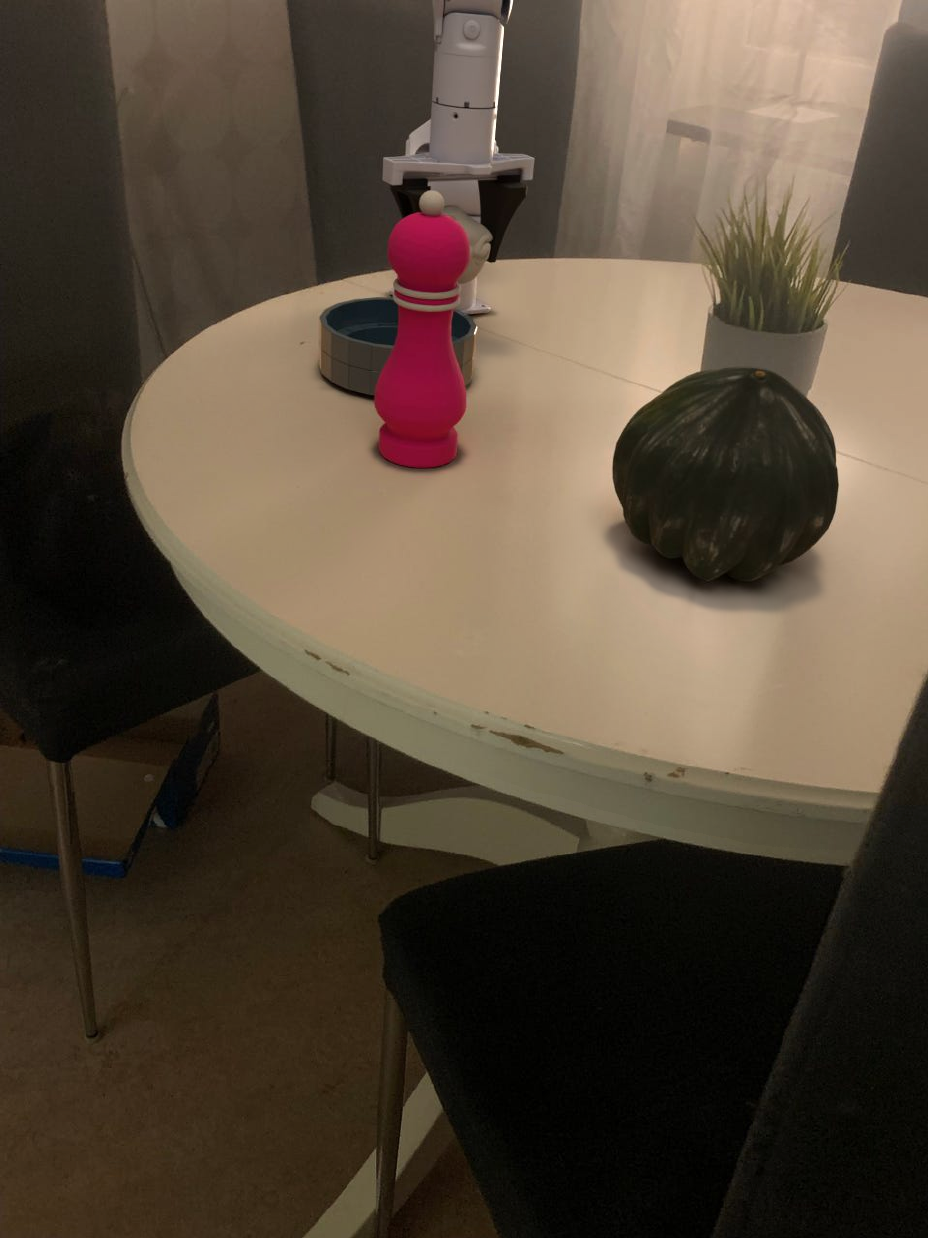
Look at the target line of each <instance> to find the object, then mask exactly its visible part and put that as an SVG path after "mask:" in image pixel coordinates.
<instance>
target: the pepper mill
mask: <svg viewBox="0 0 928 1238" xmlns="http://www.w3.org/2000/svg"><path fill="white" fill-rule="evenodd" d="M419 206H420V209H421V211H422V212H419V213H414V214H411V215H409V216H407V217H405V218H401V219H400V220H399V221H398V222H397V223H396V224H395V226H394V227H393V229H392V230H391V232H390V235H389V238H388V243H387V260H388V262H389V264H390V266H391V269H392V270H393V271H394V272H395V273H396V276H397V275H398V278H397V277H396V278H395V279H394V281H393V283H392V286H393V288H394V289H395V290H394V294H393V295H392V297H393V300H394V301H395V302H396V303H397V304H398V313H399V322H398V334H397V337H396V341H395V345H394V347H393V350H392V352H391V354H390V356H389V358H388V360H387V362H386V364H385V365H384V367H383V369H382V371H381V373H380V376H379V379H378V382H377V385H376V390H375V395H374V397H373V403H374V408H375V410H376V413H377V414H378V416H379V417H380V419H381V420H382V421H383V422H384V423H383V424H382V425H381V426H380V428H379V432H378V435H379V436H378V450H379V452H380V454H381V456H382V457H383V458H384V459H386V460H387V461H389V462H391V463H393V464H396V465H399V466H403V467H409V468H414V469H415V468H416V469H423V468H424V469H427V468H436V467H440V466H444V465H446V464H449V463H450V462H452V461H453V460H454V459H455V458H456V456H457V454H458V453H457V452H458V440H459V439H458V438H459V435H458V430H456V429H455V428H454V427H456V425H457V424H458V423H459V422H460V421H461V420H462V419H463V417H464V415H465V414H466V411H467V388H466V385H465V384H464V379H463V376H462V373H461V370H460V368H459V365H458V362H457V359H456V356H455V353H454V350H453V345H452V339H451V321H452V315H453V310H454V308H456V307H457V306H458V305H459V304H460V298H459V293H460V291H461V286H460V285H459V284H458V283H457V280H458V278H459V277H460V276H461V275H462V274H463V273H464V272H465V270H466V269H467V267H468V265H469V261H470V243H469V238H468V236H467V233H466V231H465V230H464V228H463V227H462V226H461V225H460V224H459V223H458V222H457V221H456V220H455V219H453V218H451V217H449V216H447V215H444V214H440V213H441V212H442V211H443V209H444V199H443V197H442V195H441V194H440V193H439V192H437V191H433V190H430V191H427V192H425V193H424V194H423V195H422V196H421V198H420V201H419Z"/></svg>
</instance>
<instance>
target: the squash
mask: <svg viewBox="0 0 928 1238" xmlns="http://www.w3.org/2000/svg"><path fill="white" fill-rule="evenodd" d="M611 467H612V468H611V469H612V471H611V473H612V482H613V487H614V493H615V494H616V496H617V499H618V501H619V504H620V505H621V508H622V516H623V519H624V521H625V524H626V526H627V528H628V529H629V531H630V533H631V535H632V536H633V537H634V538H635V539H636V540H637V541H639V542H641V543H643V544H646V545H651V546H653V547H654V548H655V550H656V551H657V552H658V553H659V554H660V555H661V556H662V557H665V558H668V559H678V558H682V560H683V562H684V565H685V567H686V568H687V570H689V572H690V573H691V574H692V575H693V576H694V577H696V578H698V579H699V580H702V581H709V582H710V581H712V580H716V579H718V578H719V577H721V576H723V575H724V574H726V575H727V576H729V577H730V578H732V579H734V580H736V581H740V582H754V581H756V580H758V579H760V578H763V577H764V576H766V575H767V574H770V573H771V572H772V571H773V570H775V569H776V568H777V567H780V566H782V565H786V564H788V563H791V562H793V561H794V560H796V559H798V558H799V557H801V556H803V555H804V554H806V553H807V552H809V550H811V549H812V548H813V547H814V546H815V545H816V544H817V543H818V542H819V541H820V540H821V539H822V537H824V535H825V534H826V533H827V531H828V530H829V528H830V526H831V525H832V522H833V520H834V517H835V514H836V510H837V503H838V495H839V488H840V487H839V486H840V484H839V472H838V471H839V470H838V466H837V448H836V443H835V438H834V434H833V432H832V430H831V428H830V425H829V424H828V422H827V421H826V419H825V417H824V415H823V414H822V413H821V411H820V409H818V407H817V406H816V405H815V404H814V403H813V402H812V401H811V400H810V399H809V398H808V397H807V396H806V394H804V393H803V392H802V391H801V390H799V389H798V388H796V386H794V385H793V384H792V383H791V382H790V381H788V379H786V378H784V377H783V376H782V375H780V374H779V373H777V372H775V371H774V370H771V369H768V368H763V367H757V366H751V365H746V366H745V365H744V366H743V365H741V366H740V365H738V366H731V367H723V368H716V369H706V370H705V369H704V370H701V371H696V372H694V373H692V374H691V373H690V374H689V375H686V376H684V377H683V378H681V379H679V380H677V381H676V382H674V383H672V384H670V385H669V386H668V387H667V388H666V389H665V390H663V391H662V393H660V394H658V395H656V396H655V397H654V398H653V399H652V400H650V401H648V402H647V403H646V404H644V405H642V407H640V408H639V409H638V410H637V411H636V412H635V413H634V414H633V415H632V416H631V418H630V419H629V420H628V422H627V423H626V424H625V426H624V428H623V429H622V431H621V434H620V435H619V437H618V438H617V441H616V442H615V447H614V453H613V455H612V466H611Z"/></svg>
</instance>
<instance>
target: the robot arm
mask: <svg viewBox="0 0 928 1238" xmlns="http://www.w3.org/2000/svg"><path fill="white" fill-rule="evenodd" d="M513 2H514V0H431V3H432V4H431V6H432V12H433V13H432V14H433V41H434V45H435V47H434V53H433V54H434V55H433V72H432V73H433V74H432V90H431V91H432V92H431V93H432V94H431V112H430V119H429V120H427V121H426V122H425V123H423V124H421V125H420V126H419V127H417V128H416V129H414V130H413V131H412V132H411V133H410V134H409V135H408V139H407V140H406V141H405V153H404V155H399V156H387V157H386V156H385V157H383V158H382V159H383V160H382V181H383V182H385V183H387V184H389V186H390V187H389V188H390V192H391V194H392V196H393V198H394V200H395V202H396V205H397V207H398V209H399V213H400V215H401V219H403V218H405V217H407V216H409V215H411V214H414V213H419V212H422V211H421V209H420V206H419V201H420V198H421V196H422V195H423V194H424V193H425V192H427V191H430V190H433V191H437V192H439V193H440V194H441V195H442V197H443V199H444V206H446V205H455V206H459V207H460V208H461V209H462V210H463V211H464V213H466V214H467V215H469V216H470V217H471V218H472V219H474V220H476V221H477V222H479V223H480V224H482V225H483V226H484V227H486V228H487V229H488V230H489V232H490V233H491V234H492V237H493V239H492V240H491V241H490V242H489V244H490V246H491V248H490V253H489V257H488V259H487V261H486V262H488V263H490V264H491V263H492V264H493V263H496V262H497V259H498V255H499V252H500V250H501V246H502V243H503V241H504V238H505V235H506V233H507V231H508V228H509V226H510V224H511V222H512V220H513V218H514V217H515V214H516V212H517V211H518V210H519V208H520V207H521V204H522V203H524V201H525V199H526V198H527V194H528V185H527V184H526V183H523V182H521V181H533V177H534V167H535V157H533V156H530V155H528V154H524V153H499V146H498V145H497V141H496V140H495V138H496V126H497V125H496V124H497V114H498V104H499V103H498V102H499V92H500V79H501V69H502V57H503V56H502V54H503V43H504V31H505V27H504V25H502V23H501V22H500V20H501V19H502V20H503V21H504V23H505V25H507V24H508V22H509V19H510V16H511V13H512V8H513ZM397 278H398V275H397V274H396V279H397ZM459 285H460V286H461V291H460V293H459V298H460V304H459V305H458V306H457V307H456V308H454V309H456V310H459V311H461V312H463V313H465V314H466V315H474V314H475V315H476V314H485V313H490V312H491V307H490V306H488V305H487V304H485V303H483V302H481V301H480V300H478V299H477V298H476V297H477V285H478V276H477V277H476V278H474V279H473V280H472V281H470V282H468V283H464V284H459ZM388 290H389V291H388V292H389V294H390V295H392V296H393V294H394V290H395V289H394V287H393V288H389V289H388Z"/></svg>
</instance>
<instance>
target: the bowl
mask: <svg viewBox="0 0 928 1238" xmlns="http://www.w3.org/2000/svg"><path fill="white" fill-rule="evenodd" d="M398 322H399V313H398V304H397V303H396V302H395V301H394V300H393V296H390V297H389V296H386V297H385V296H377V297H376V296H375V297H364V298H363V297H362V298H356V299H355V298H354V299H350V300H345V301H340V302H337V303H335V304H333V305H330V306H329V307H327V308H325V309H324V310H323V311H322V313H321V314H320V315H319V317H318V324H319V325H318V364H319V369H320V373H321V374H322V375H323V376H324V377H325V378H326V379H328V380H329V381H330V382H331V383H333V384H336V385H337V386H340V387H342V388H344V389H346V390H349V391H353V392H357V393H361V394H366V395H370V396H375V390H376V385H377V382H378V379H379V376H380V373H381V371H382V369H383V367H384V365H385V364H386V362H387V360H388V358H389V356H390V354H391V352H392V350H393V347H394V345H395V341H396V337H397V334H398ZM477 334H478V325H477V324H476V322H475V320H474V319H473V317H471V316H469V314H467V315H466V314H465V313H463V312H461V311H459V310H456V309H454V310H453V315H452V321H451V339H452V345H453V350H454V353H455V356H456V359H457V362H458V365H459V368H460V370H461V373H462V376H463V379H464V384H465V386H467V385H468V384H469V383H471V381H472V379H473V376H474V373H475V372H474V371H475V361H476V360H475V359H476V349H477Z"/></svg>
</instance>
